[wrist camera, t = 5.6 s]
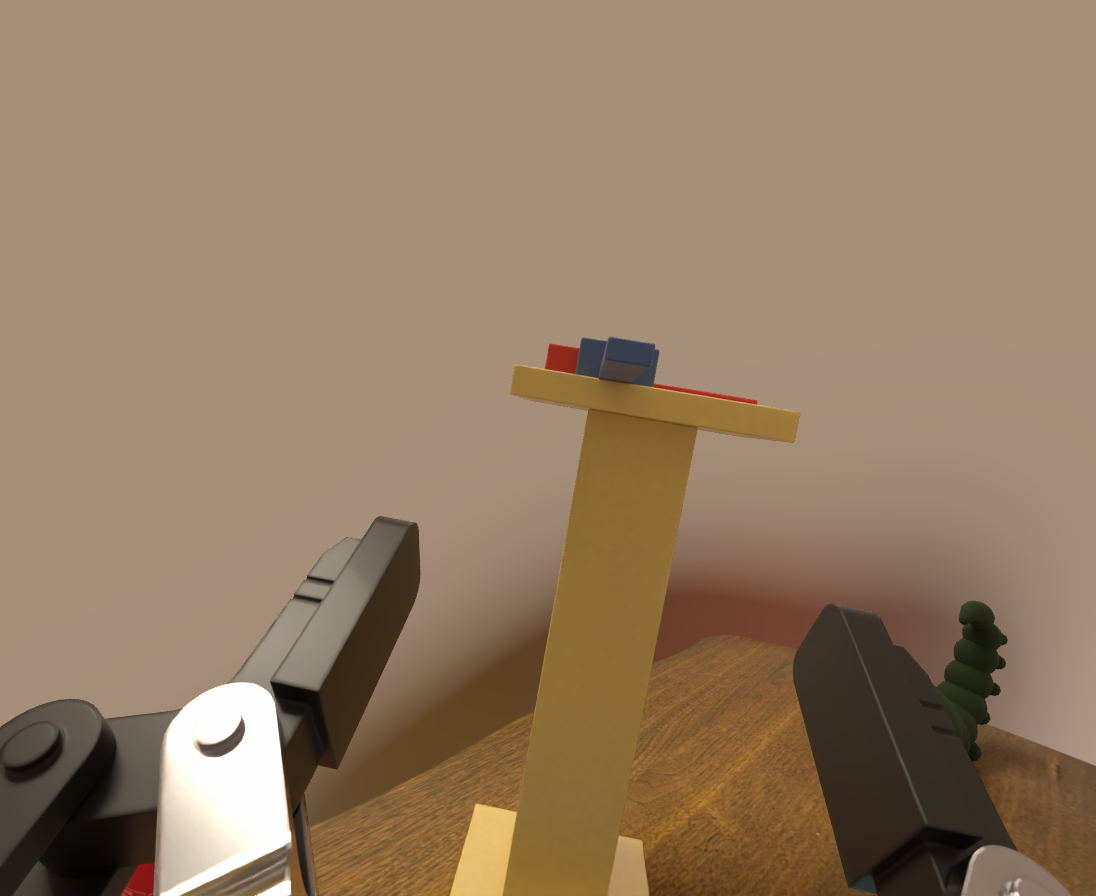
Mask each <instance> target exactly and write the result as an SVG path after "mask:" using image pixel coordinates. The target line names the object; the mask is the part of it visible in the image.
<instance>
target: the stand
mask: <svg viewBox="0 0 1096 896" xmlns="http://www.w3.org/2000/svg"><path fill="white" fill-rule="evenodd" d="M510 394H512V395H515V396H518V397H521V398H524V399H527V400H530V401H535V402H541V403H546V404H552V405H558V406H564V407H570V408H576V409H581V410H588V416H587V421H586V426H585V432H584V438H583V443H582V449H581V455H580V460H579V466H578V471H577V478H576V483H575V488H574V494H573V500H572V505H571V511H570V516H569V522H568V528H567V534H566V539H565V544H564V550H563V556H562V562H561V567H560V572H559V579H558V584H557V589H556V595H555V601H554V606H553V613H552V617H551V623H550V629H549V634H548V640H547V646H546V651H545V657H544V662H543V668H542V674H541V679H540V685H539V691H538V696H537V702H536V707H535V713H534V719H533V724H532V730H531V735H530V741H529V747H528V752H527V758H526V764H525V769H524V775H523V780H522V786H521V792H520V797H519V803H518V808H517V812H512V811H508V810H503V809H499V808H494V807H490V806H486V805H481V804H476V805H475V808H474V812H473V815H472V819H471V822H470V826H469V829H468V833H467V836H466V840H465V843H464V847H463V850H462V854H461V857H460V861H459V864H458V868H457V871H456V875H455V878H454V882H453V885H452V889H451V892H450V896H649V890H648V882H647V875H646V867H645V860H644V852H643V845H642V840H638V839H633V838H629V837H624V836H620V835H619V833H620V828H621V822H622V817H623V812H624V807H625V802H626V796H627V791H628V786H629V781H630V776H631V771H632V765H633V760H634V755H635V750H636V745H637V739H638V734H639V729H640V724H641V719H642V714H643V708H644V703H645V698H646V693H647V688H648V683H649V677H650V672H651V667H652V662H653V657H654V651H655V646H656V641H657V636H658V631H659V626H660V620H661V615H662V610H663V604H664V599H665V594H666V589H667V584H668V579H669V574H670V569H671V563H672V558H673V553H674V548H675V542H676V537H677V532H678V527H679V522H680V516H681V512H682V506H683V501H684V496H685V491H686V485H687V480H688V475H689V470H690V465H691V460H692V455H693V449H694V444H695V439H696V434H697V430H703V431H709V432H715V433H721V434H726V435H732V436H740V437H748V438H757V439H766V440H774V441H782V442H791V443H793V442H794V441H795V437H796V431H797V427H798V422H799V417H800V412H796V411H790V410H784V409H778V408H772V407H766V406H760V405H755V404H749V403H743V402H737V401H731V400H725V399H719V398H713V397H707V396H701V395H695V394H689V393H683V392H677V391H671V390H665V389H660V388H654V387H648V386H642V385H636V384H630V383H624V382H618V381H612V380H606V379H600V378H594V377H588V376H582V375H576V374H570V373H564V372H558V371H552V370H547V369H541V368H534V367H528V366H523V365H515V367H514V372H513V378H512V385H511V391H510Z"/></svg>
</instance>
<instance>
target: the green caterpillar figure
mask: <svg viewBox="0 0 1096 896" xmlns="http://www.w3.org/2000/svg"><path fill="white" fill-rule="evenodd" d="M994 619H995V617H994V614H993V612H992V610H991V609H990V608H989V607H988V606H987V605H986V604H984V603H982V602H977V601H969V602H966V603H965V604H963V605H962V607H961V611H960V615H959V622H960V623H961V624H963V625H964V627H963V629H962V635H963V638H962V639H961V640H959V641H958V642H956V644H955V647H954V657H955V660H954V661H952V662H950V663H949V664H948V665H947V666H946V668H945V673H944V678H945V681H943V682H942V683H940V684H939V685H938V686H937V687H935V686H934V685H933V686H934V688H935V690H936V692H937V694H938V696H939V698H940V700H941V702H942V704H943V711H945V712H947V714H948V716H949V718H950V720H951V722H952V724H953V726H954V728H955V730H956V733H955V734H956V737H958V738H960V739H961V741H962V743H963V745H964V747H965V749H966V751H967V753H968V755H969V757H970V759H971V761H976V760H978V759H979V758H980V757H981V750H980V748H979V747H978V746H977V744H976V743H975V740H976V738H977V734H978V731H977V724H981V725H983V724H987V723H988V722H989V721H990V716H989V713H988V712H987V705H986V701H985V698H987V697H988V696H989V695H993V696H996V695H999V693H1000V691H1001V690H1000V687H999V686H998V685H997V684H996V683H993V680H992V677H991V675H990V673H992V672H994V671H995V669H1002V668H1004V667H1005V665H1006V662H1005V660H1004V659H1003V658H1002V657H1001V656H998V653H997V651H996V650H997V649H998V648H999V647H1000V646H1001V645H1005V644H1006V643H1007V641H1008V639H1007V637H1006V636H1005V635H1003V634H1002V633H1001V631H1000V630H999V628H998V627H997V626H996V625H994V624H993V623H994Z"/></svg>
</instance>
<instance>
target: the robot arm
mask: <svg viewBox="0 0 1096 896" xmlns="http://www.w3.org/2000/svg"><path fill="white" fill-rule="evenodd" d="M419 553H420V552H419V529H418V525H417V523H414V522H409V521H403V520H398V519H392V518H388V517H382V516H379V517H377V518H376V519H375V520H374V522H373V523H372V524H371V526H370V528H369V529H368V531H367V532H366V534H365V535H364V537H363V538H362V540H360V539H354V538H349V537H346V538H344V539H343V540H342V541H340V542H339V543H337V544H336V545H335V546H333V547H332V548H331V549H329V550H328V551H326V552H325V553H323V554H322V556H321V557H320V559H319V560H318V561H317V563H316V564H315V566H314V567H313V568H312V570H311V571H310V573H309V574H308V575H307V579H306V581H305V580H304V581H303V582H302V584H301V585H300V586H299V588H298V589H297V591H296V592H295V593H294V597H293V599H290V601H289V602H288V603H287V605H286V606H285V607H284V609H283V610H282V612H281V613H280V615H279V616H278V617H277V619H276V620H275V621H274V623H273V624H272V626H271V627H270V628H269V630H268V631H267V633H266V634H265V635H264V637H263V638H262V640H261V641H260V642H259V644H258V645H257V646H256V648H255V649H254V651H253V652H252V654H251V655H250V656H249V658H248V659H247V660H246V662H245V663H244V665H243V666H242V667H241V669H240V670H239V671H238V672H237V674H236V675H235V676H234V677H233V678H232V679H231V680H230V681H229V682H228V683H227V684H226V685H223V686H219V687H217V688H214V689H212V690H209V691H207V692H206V693H204V694H202V695H200V696H199V697H197V698H196V699H194V700H193V701H191V702H190V703H189V704H188V705H187V706H186V707H184V708H181V709H178V710H173V711H167V712H159V713H152V714H143V715H134V716H126V717H117V718H108V719H104V717H103V716H102V715H101V713H100V712H99V710H98V709H97V708H96V707H95V706H94V705H93V704H91V703H89V702H87V701H83V700H79V699H65V700H57V701H53V702H49V703H46V704H43V705H39V706H37V707H35V708H32V709H30V710H28V711H26V712H24V713H22V714H20V715H18V716H17V717H15V718H13V719H12V720H10V721H8V722H7V723H5V724H4V725H3V726H1V727H0V896H121V894H122V892H123V891H124V889H125V887H126V886H127V884H128V883H129V881H130V879H131V878H132V876H133V874H134V873H135V871H136V869H137V868H138V866H139V865H142V864H148V863H154V862H155V870H154V889H153V896H319V891H318V884H317V877H316V870H315V863H314V856H313V849H312V843H311V836H310V829H309V822H308V815H307V809H306V801H305V794H304V792H305V790H306V788H307V786H308V784H309V782H310V780H311V778H312V776H313V774H314V772H315V770H316V768H317V766H318V765H320V766H324V767H329V768H333V769H338V767H339V765H340V763H341V761H342V759H343V756H344V754H345V752H346V750H347V748H348V746H349V744H350V741H351V739H352V737H353V735H354V733H355V731H356V728H357V726H358V724H359V722H360V719H361V717H362V715H363V713H364V711H365V709H366V707H367V704H368V702H369V700H370V698H371V696H372V694H373V691H374V689H375V687H376V685H377V683H378V680H379V678H380V676H381V674H382V672H383V670H384V668H385V665H386V663H387V661H388V659H389V657H390V655H391V652H392V650H393V648H394V646H395V644H396V642H397V639H398V637H399V635H400V633H401V631H402V629H403V626H404V624H405V622H406V620H407V618H408V615H409V613H410V611H411V609H412V607H413V604H414V602H415V599H416V596H417V592H418V588H419V583H420V554H419ZM793 678H794V684H795V688H796V692H797V696H798V700H799V703H800V707H801V711H802V715H803V718H804V722H805V726H806V730H807V734H808V737H809V741H810V745H811V749H812V752H813V756H814V760H815V764H816V768H817V771H818V775H819V779H820V783H821V786H822V790H823V794H824V798H825V801H826V805H827V809H828V813H829V817H830V820H831V824H832V828H833V832H834V835H835V839H836V843H837V847H838V850H839V854H840V858H841V862H842V866H843V869H844V873H845V877H846V881H847V884H848V887H849V888H854V889H858V890H862V891H867V892H871V893H876V894H878V896H1072V895H1071V894H1070V893H1069V892H1068V891H1067V890H1066V889H1065V888H1064V886H1063V885H1062V884H1061V883H1060V882H1059V881H1058V880H1057V879H1056V878H1054V877H1053V876H1052V875H1051V874H1050V873H1049V872H1048V871H1046V870H1045V869H1044V868H1043V867H1042V866H1040V865H1039V864H1037V863H1036V862H1035V861H1033V860H1032V859H1030V858H1029V857H1027V856H1025V855H1023V854H1021V853H1020V852H1018V850H1017V849H1016V847H1015V845H1014V844H1013V842H1012V840H1011V838H1010V836H1009V834H1008V832H1007V830H1006V828H1005V826H1004V825H1003V823H1002V821H1001V819H1000V817H999V815H998V813H997V811H996V809H995V807H994V805H993V803H992V801H991V799H990V797H989V795H988V793H987V791H986V789H985V787H984V785H983V783H982V781H981V779H980V777H979V775H978V773H977V771H976V769H975V767H974V765H973V763H972V761H971V759H970V757H969V755H968V753H967V751H966V749H965V747H964V745H963V743H962V741H961V739H960V738H958V737H956V734H955V733H956V730H955V728H954V726H953V724H952V722H951V720H950V718H949V716H948V714H947V712H945V711H943V704H942V702H941V700H940V698H939V696H938V694H937V692H936V690H935V688H934V686H933V684H932V682H931V680H930V678H929V676H928V675H927V674H926V672H925V671H924V670H923V669H922V668H921V667H920V666H919V664H918V663H917V662H916V661H915V660H914V659H913V658H912V657H911V655H910V654H909V653H908V652H907V651H906V650H905V649H904V648H903V647H900V646H895V645H893V643H892V641H891V639H890V637H889V635H888V633H887V631H886V628H885V626H884V624H883V622H882V620H881V618H880V617H879V616H878V615H877V614H876V613H874V612H871V611H866V610H861V609H856V608H851V607H845V606H840V605H835V604H829V605H827V606H826V607H825V608H824V609H823V610H822V612H821V614H820V615H819V617H818V618H817V620H816V621H815V623H814V625H813V626H812V628H811V630H810V631H809V633H808V634H807V636H806V637H805V639H804V640H803V642H802V644H801V645H800V647H799V648H798V650H797V652H796V655H795V658H794V664H793Z"/></svg>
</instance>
